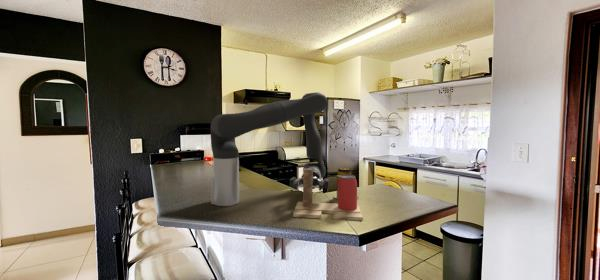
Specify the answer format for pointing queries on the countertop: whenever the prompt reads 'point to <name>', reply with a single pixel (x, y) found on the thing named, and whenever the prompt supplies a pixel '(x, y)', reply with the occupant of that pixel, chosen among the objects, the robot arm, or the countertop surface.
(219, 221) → the countertop surface
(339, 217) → the broken strip
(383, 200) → the countertop surface
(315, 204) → the wooden post stand
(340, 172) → the condiment
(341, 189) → the beer can
